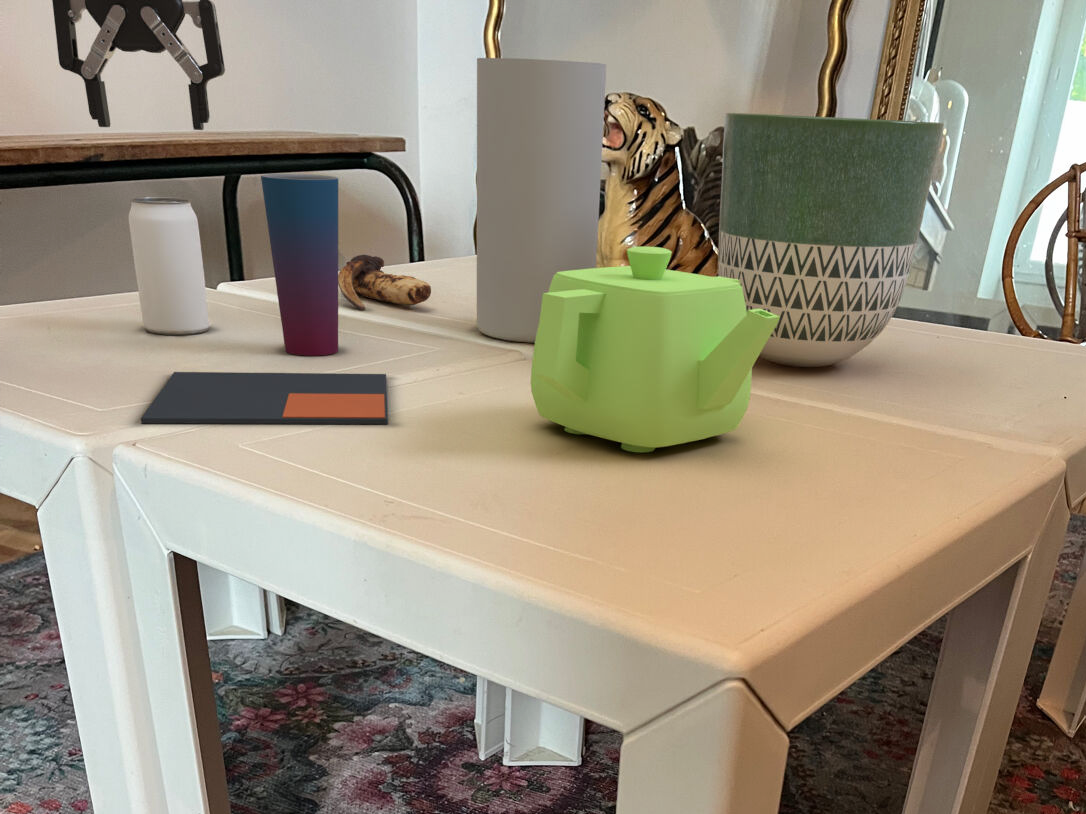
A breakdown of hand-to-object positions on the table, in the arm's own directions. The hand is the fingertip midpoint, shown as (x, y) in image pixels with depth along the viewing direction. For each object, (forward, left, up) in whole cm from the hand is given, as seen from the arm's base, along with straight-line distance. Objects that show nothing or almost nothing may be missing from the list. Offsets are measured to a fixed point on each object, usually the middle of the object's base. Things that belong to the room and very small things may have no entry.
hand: (151, 128), depth 106 cm
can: (0, 0, -18) cm, 18 cm away
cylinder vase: (+37, +1, -18) cm, 41 cm away
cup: (+14, -10, -18) cm, 25 cm away
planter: (+62, -13, -18) cm, 66 cm away
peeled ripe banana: (+20, +20, -18) cm, 34 cm away
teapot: (+41, -42, -18) cm, 61 cm away
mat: (+12, -30, -18) cm, 37 cm away
